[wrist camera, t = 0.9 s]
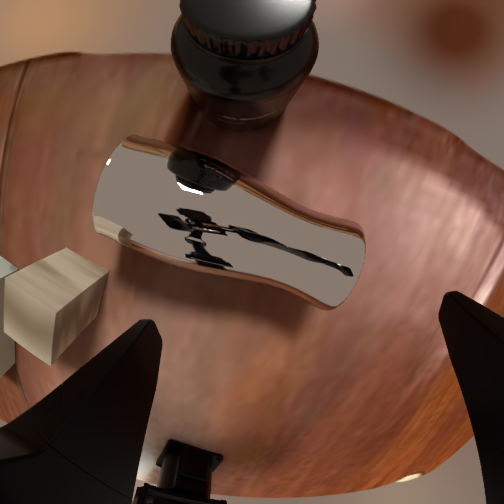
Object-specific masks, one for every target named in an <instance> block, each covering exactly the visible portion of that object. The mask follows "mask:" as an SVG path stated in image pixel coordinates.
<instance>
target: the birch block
mask: <svg viewBox="0 0 504 504" xmlns="http://www.w3.org/2000/svg"><path fill="white" fill-rule="evenodd" d="M108 273H109V271H108V270H106V269H104V268H102V267H100V266H98V265H96V264H94V263H93V262H91V261H89V260H87V259H85V258H84V257H82V256H80V255H78V254H76V253H75V252H73V251H71V250H69V249H68V248H65V249H63V250H61V251H58V252H56V253H54V254H52V255H50V256H48V257H46V258H44V259H41V260H39V261H37V262H35V263H33V264H31V265H29V266H27V267H25V268H23V269H21V270H19V271H17V272H15V273H13V274H11V275H9V276H7V277H6V278H5V290H4V333H6V334H7V335H8V336H9V337H11V338H12V339H13V340H15V341H16V342H17V343H19V344H20V345H21V346H23V347H24V348H25V349H27V350H28V351H29V352H31V353H32V354H34V355H35V356H37V357H38V358H39V359H41V360H42V361H44V362H45V363H47V364H48V365H50V366H51V365H52V364H53V363H54V362H55V361H56V360H57V358H58V357H59V356H60V355H61V354H62V353H63V352H64V351H65V350H66V348H67V347H68V346H69V345H70V344H71V343H72V342H73V341H74V340H75V339H76V338H77V336H78V335H79V334H80V333H81V332H82V331H83V330H84V329H85V328H86V327H87V326H88V325H89V324H90V323H91V322H92V321H93V320H94V318H95V317H96V316H97V314H98V310H99V306H100V302H101V298H102V295H103V291H104V287H105V284H106V280H107V277H108Z"/></svg>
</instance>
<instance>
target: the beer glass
mask: <svg viewBox="0 0 504 504" xmlns="http://www.w3.org/2000/svg"><path fill="white" fill-rule="evenodd" d="M92 215H93V224H94V227H95V229H96V231H97V232H98V233H99V234H101V235H104V236H106V237H108V238H110V239H112V240H114V241H116V242H118V243H120V244H122V245H124V246H126V247H128V248H130V249H132V250H134V251H136V252H138V253H141V254H143V255H145V256H148V257H150V258H153V259H155V260H157V261H160V262H163V263H166V264H169V265H172V266H175V267H178V268H182V269H186V270H190V271H194V272H199V273H204V274H209V275H214V276H220V277H226V278H232V279H238V280H244V281H249V282H255V283H260V284H265V285H268V286H272V287H275V288H278V289H281V290H284V291H286V292H289V293H291V294H293V295H295V296H297V297H299V298H300V299H302V300H304V301H306V302H307V303H309V304H311V305H313V306H315V307H317V308H319V309H321V310H324V311H330V310H333V309H335V308H337V307H338V306H339V305H341V304H342V303H343V302H344V301H345V300H346V298H347V297H348V296H349V294H350V293H351V292H352V290H353V288H354V287H355V285H356V283H357V281H358V278H359V276H360V273H361V270H362V267H363V264H364V259H365V254H366V237H365V233H364V230H363V228H362V227H361V226H360V225H359V224H358V223H356V222H354V221H351V220H347V219H343V218H339V217H335V216H330V215H326V214H323V213H320V212H317V211H314V210H311V209H309V208H307V207H304V206H302V205H300V204H298V203H296V202H294V201H292V200H291V199H289V198H287V197H286V196H284V195H282V194H281V193H279V192H277V191H276V190H274V189H273V188H271V187H269V186H268V185H266V184H264V183H263V182H261V181H259V180H258V179H256V178H254V177H253V176H251V175H249V174H248V173H246V172H244V171H242V170H241V169H239V168H237V167H235V166H233V165H231V164H229V163H227V162H225V161H223V160H221V159H219V158H216V157H214V156H211V155H209V154H206V153H203V152H201V151H198V150H195V149H192V148H188V147H185V146H182V145H178V144H174V143H170V142H166V141H161V140H156V139H151V138H147V137H142V136H139V135H136V134H133V135H130V136H128V137H126V138H125V139H124V140H122V141H121V142H120V143H119V144H118V146H117V147H116V148H115V149H114V151H113V152H112V154H111V155H110V157H109V159H108V160H107V162H106V164H105V166H104V168H103V170H102V173H101V175H100V178H99V181H98V184H97V187H96V191H95V195H94V201H93V213H92Z"/></svg>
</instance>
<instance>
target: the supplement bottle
mask: <svg viewBox="0 0 504 504" xmlns="http://www.w3.org/2000/svg"><path fill="white" fill-rule="evenodd" d="M315 2H316V0H180V10H181V15H180V16H179V18H178V20H177V21H176V23H175V26H174V28H173V31H172V36H171V53H172V57H173V60H174V63H175V65H176V67H177V69H178V71H179V73H180V75H181V77H182V79H183V81H184V83H185V84H186V86H187V88H188V90H189V92H190V94H191V96H192V98H193V99H194V101H195V103H196V105H197V106H198V108H199V110H200V111H201V112H202V114H203V115H204V116H205V117H206V118H207V119H209V120H210V121H211V122H213V123H214V124H216V125H218V126H220V127H222V128H226V129H229V130H235V131H248V130H254V129H258V128H261V127H263V126H265V125H267V124H269V123H270V122H272V121H273V120H275V119H276V118H277V117H278V116H279V115H280V114H281V113H282V112H283V110H284V109H285V108H286V106H287V105H288V103H289V102H290V101H291V99H292V98H293V96H294V95H295V93H296V92H297V90H298V89H299V88H300V86H301V85H302V83H303V82H304V80H305V79H306V78H307V76H308V75H309V73H310V72H311V70H312V68H313V66H314V64H315V62H316V59H317V55H318V49H319V40H318V39H319V38H318V33H317V30H316V27H315V24H314V22H313V20H312V19H313V15H314V12H315V10H316V4H315Z"/></svg>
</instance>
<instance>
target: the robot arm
mask: <svg viewBox="0 0 504 504" xmlns="http://www.w3.org/2000/svg"><path fill="white" fill-rule="evenodd" d="M439 322H440V325H441V328H442V332H443V335H444V338H445V342H446V345H447V349H448V353H449V356H450V359H451V362H452V365H453V368H454V371H455V373H456V376H457V379H458V382H459V385H460V388H461V391H462V394H463V397H464V400H465V404H466V407H467V410H468V414H469V417H470V421H471V425H472V428H473V432H474V436H475V441H476V445H477V449H478V453H479V459H480V464H481V466H482V467H481V470H482V475H483V482H484V488H485V496H486V504H504V318H503V317H501V316H500V315H498V314H496V313H495V312H493V311H491V310H490V309H488V308H486V307H485V306H483V305H481V304H479V303H478V302H476V301H474V300H472V299H471V298H469V297H467V296H465V295H463V294H462V293H460V292H458V291H451V292H447V293H445V295H444V297H443V300H442V304H441V307H440V310H439ZM161 351H162V338H161V336H160V334H159V331H158V329H157V327H156V324H155V322H154V321H153V320H150V319H142V320H139V321H138V322H137V323H135V324H134V325H133V326H132V327H130V328H129V329H128V330H127V331H125V332H124V333H123V334H122V335H120V336H119V337H118V338H117V339H116V340H114V341H113V342H112V343H111V344H109V345H108V346H107V347H106V348H104V349H103V350H102V351H101V352H99V353H98V354H97V355H96V356H95V357H93V358H92V359H91V360H90V361H88V362H87V363H86V364H85V365H84V366H82V367H81V368H80V369H79V370H77V371H76V372H75V373H74V374H73V375H71V376H70V377H69V378H68V379H67V380H65V381H64V382H63V383H62V384H60V385H59V386H58V387H57V388H56V389H54V390H53V391H52V392H51V393H49V394H48V395H47V396H46V397H44V398H43V399H42V400H41V401H39V402H38V403H36V404H35V405H34V406H32V407H31V408H29V409H28V410H27V411H25V412H24V413H22V414H21V415H19V416H18V417H17V418H15V419H14V420H12V421H11V422H9V423H8V424H6V425H5V426H3V427H1V428H0V504H227V501H226V500H214V499H210V493H211V479H212V472H213V471H214V470H215V469H216V468H217V467H218V465H219V464H220V463H221V462H222V461H223V456H222V455H220V454H216V453H213V452H209V451H206V450H202V449H199V448H196V447H193V446H190V445H187V444H184V443H181V442H178V441H175V440H171V439H170V440H168V441H167V443H166V445H165V447H164V449H163V451H162V452H161V454H160V456H159V458H158V460H157V462H156V465H157V466H159V467H161V472H160V476H159V481H158V485H157V487H156V486H152V485H149V484H148V483H144V486H142V487H137V490H136V494H135V497H134V501H133V503H132V498H133V493H134V486H135V481H136V476H137V471H138V466H139V461H140V456H141V452H142V447H143V442H144V438H145V433H146V429H147V424H148V420H149V416H150V411H151V407H152V403H153V399H154V395H155V391H156V386H157V380H158V372H159V365H160V358H161Z"/></svg>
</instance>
